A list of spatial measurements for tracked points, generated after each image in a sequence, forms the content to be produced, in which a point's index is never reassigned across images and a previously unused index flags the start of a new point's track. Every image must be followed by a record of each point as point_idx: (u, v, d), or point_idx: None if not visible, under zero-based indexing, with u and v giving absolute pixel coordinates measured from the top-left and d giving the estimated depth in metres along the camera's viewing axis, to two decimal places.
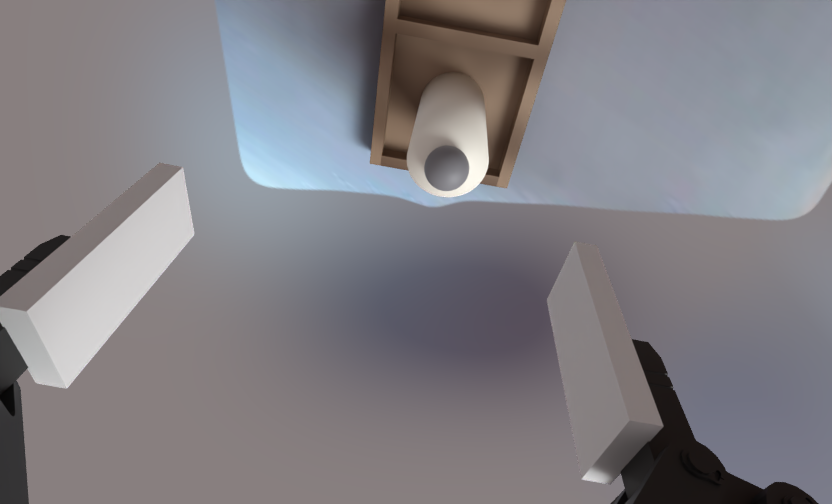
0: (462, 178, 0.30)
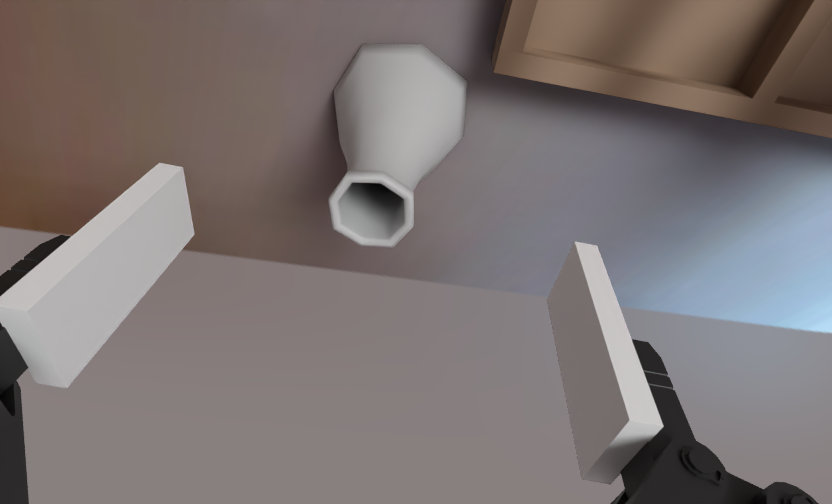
0: None
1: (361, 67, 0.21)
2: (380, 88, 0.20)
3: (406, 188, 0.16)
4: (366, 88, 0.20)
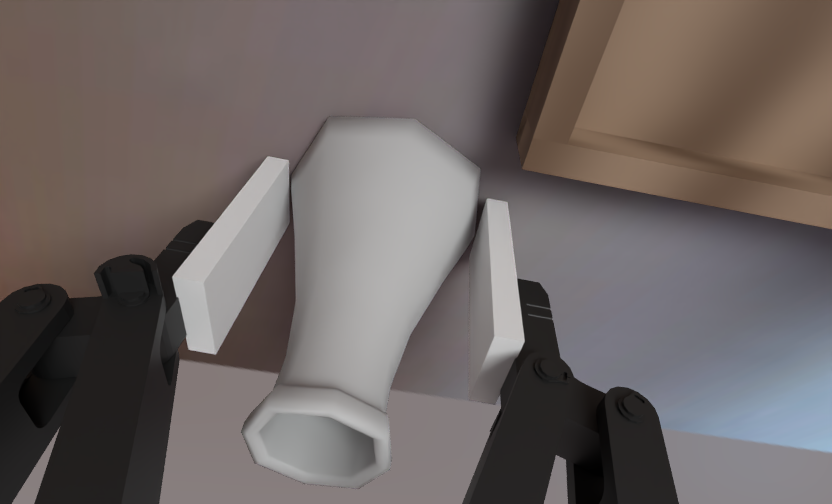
0: None
1: (324, 155, 0.14)
2: (350, 193, 0.13)
3: (376, 419, 0.09)
4: (328, 193, 0.13)
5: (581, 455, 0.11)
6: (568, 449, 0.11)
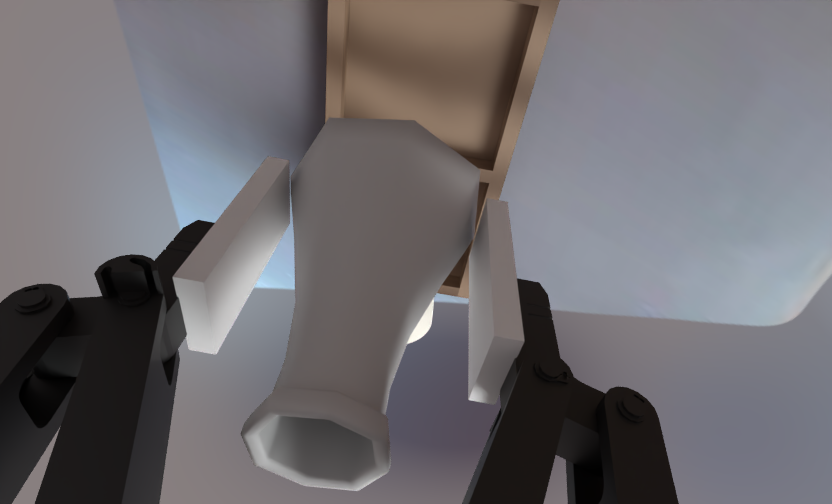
0: None
1: (324, 157, 0.14)
2: (350, 195, 0.13)
3: (376, 421, 0.09)
4: (328, 194, 0.13)
5: (581, 455, 0.11)
6: (568, 449, 0.11)
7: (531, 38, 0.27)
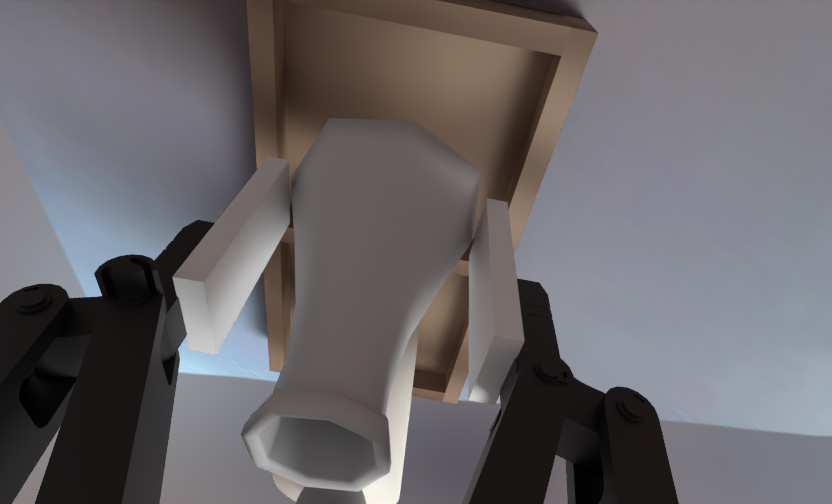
0: None
1: (324, 158, 0.14)
2: (350, 195, 0.13)
3: (376, 422, 0.09)
4: (328, 195, 0.13)
5: (581, 455, 0.11)
6: (569, 449, 0.11)
7: (548, 99, 0.18)
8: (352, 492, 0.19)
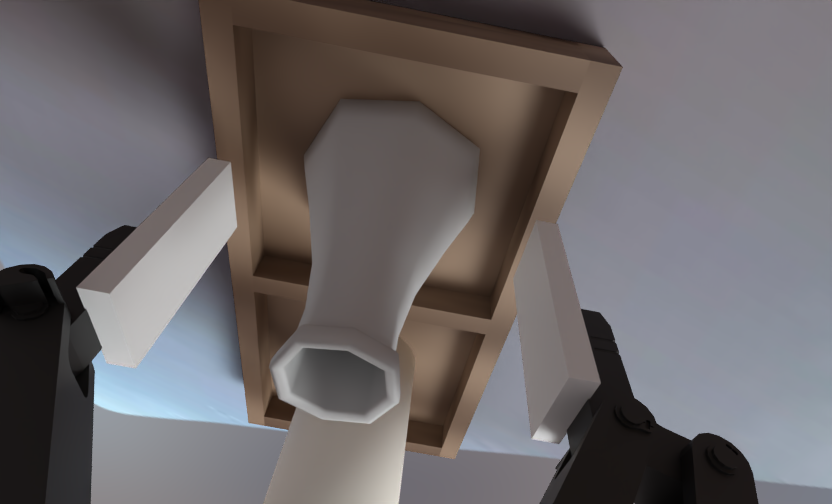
0: None
1: (336, 134, 0.16)
2: (361, 167, 0.15)
3: (388, 354, 0.10)
4: (341, 167, 0.15)
5: None
6: (650, 499, 0.10)
7: (561, 142, 0.15)
8: None
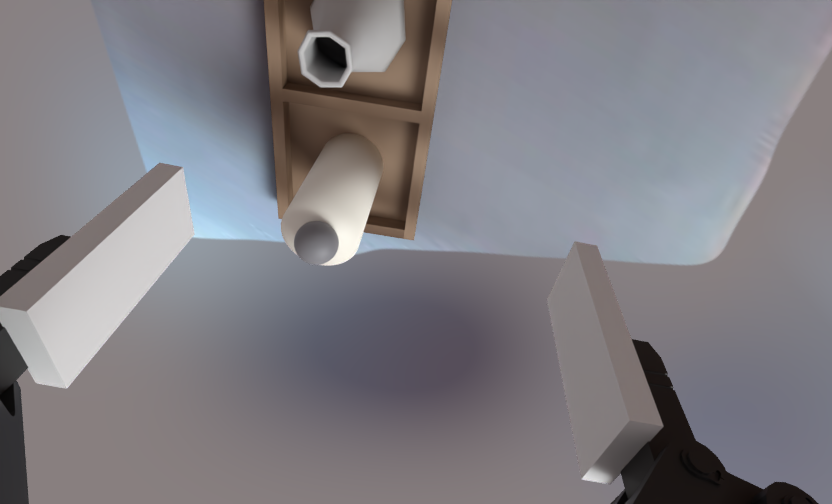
0: (328, 254, 0.30)
1: None
2: None
3: (346, 41, 0.25)
4: None
5: None
6: None
7: None
8: (329, 226, 0.31)
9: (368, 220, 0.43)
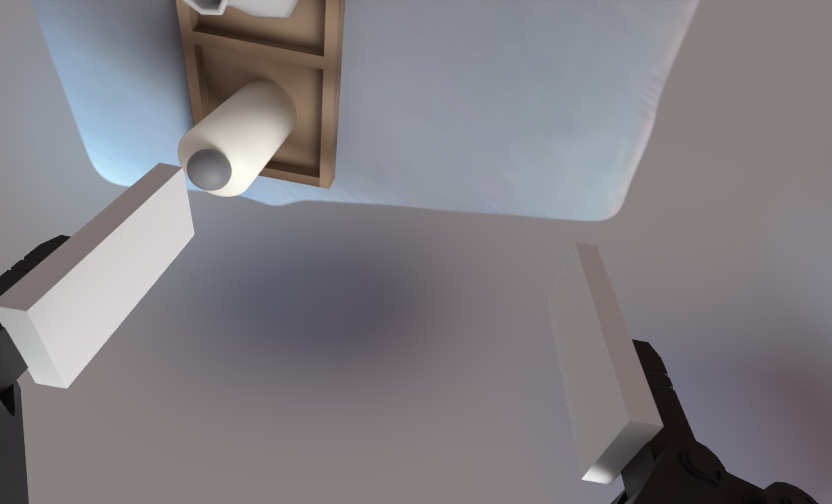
0: (218, 179, 0.32)
1: None
2: None
3: None
4: None
5: None
6: None
7: None
8: (220, 154, 0.33)
9: (286, 168, 0.45)
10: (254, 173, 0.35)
